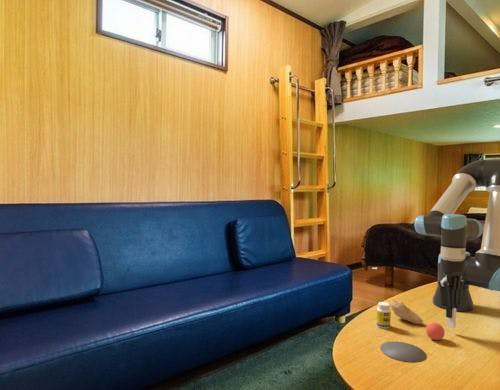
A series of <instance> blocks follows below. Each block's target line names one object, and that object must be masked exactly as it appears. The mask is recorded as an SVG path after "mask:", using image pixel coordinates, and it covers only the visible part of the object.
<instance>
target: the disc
mask: <svg viewBox="0 0 500 390" xmlns="http://www.w3.org/2000/svg"><path fill="white" fill-rule="evenodd" d="M379 348H380V350H381V352H382V353H383V354H384V355H385V356H387V357H389V358H391V359H394V360H396V361H400V362H404V363H405V362H407V363H419V362H420V363H421V362H422V361H425V360H426V359H427V354H426V352H425V351H424V349H422V348H421V347H418V345H414V344H412V343H407V342H404V341H387V342H383V343H382V344H381V345H380V347H379Z"/></svg>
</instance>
